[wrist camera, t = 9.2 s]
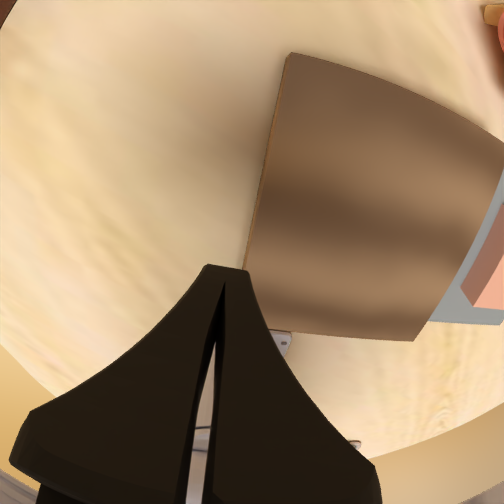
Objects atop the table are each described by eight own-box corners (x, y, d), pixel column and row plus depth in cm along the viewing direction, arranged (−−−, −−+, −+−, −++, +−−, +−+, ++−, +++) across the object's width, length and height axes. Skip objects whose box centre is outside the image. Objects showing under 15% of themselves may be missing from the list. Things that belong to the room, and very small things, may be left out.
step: (401, 315, 23) (413, 341, 20) (237, 294, 22) (233, 323, 19) (483, 135, 14) (510, 147, 12) (286, 57, 13) (291, 52, 11)
